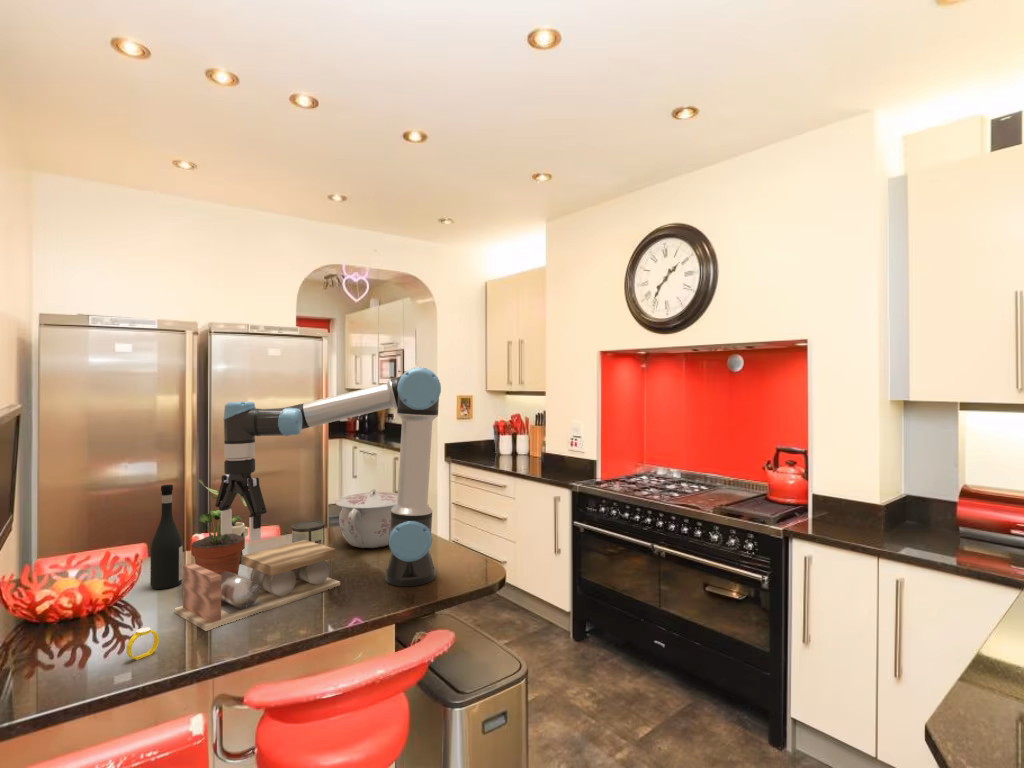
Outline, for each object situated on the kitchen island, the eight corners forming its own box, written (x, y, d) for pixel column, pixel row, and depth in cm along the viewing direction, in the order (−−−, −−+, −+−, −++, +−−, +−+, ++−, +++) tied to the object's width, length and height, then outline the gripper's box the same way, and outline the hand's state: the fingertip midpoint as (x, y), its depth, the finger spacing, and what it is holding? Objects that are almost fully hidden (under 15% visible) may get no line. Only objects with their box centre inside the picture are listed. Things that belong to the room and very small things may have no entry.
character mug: (224, 569, 176) (224, 529, 176) (210, 566, 179) (211, 527, 179) (254, 560, 185) (254, 522, 185) (241, 557, 189) (241, 520, 189)
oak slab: (335, 557, 161) (335, 548, 161) (271, 575, 145) (271, 566, 145) (304, 547, 171) (304, 540, 171) (241, 564, 155) (241, 555, 155)
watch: (153, 651, 122) (155, 623, 122) (159, 654, 120) (162, 626, 121) (123, 660, 116) (125, 632, 117) (130, 664, 115) (132, 635, 115)
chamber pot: (389, 530, 225) (389, 480, 225) (422, 545, 204) (422, 489, 204) (322, 542, 207) (322, 488, 207) (351, 560, 186) (351, 499, 186)
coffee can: (300, 561, 184) (301, 520, 184) (330, 562, 183) (330, 520, 183) (285, 571, 174) (285, 527, 174) (316, 572, 173) (316, 528, 173)
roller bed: (340, 585, 161) (340, 544, 161) (205, 631, 131) (206, 580, 131) (305, 573, 172) (306, 535, 172) (174, 612, 142) (174, 566, 142)
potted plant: (218, 597, 152) (218, 473, 152) (179, 591, 157) (179, 470, 158) (261, 579, 167) (262, 465, 167) (224, 573, 172) (224, 463, 172)
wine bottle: (175, 578, 167) (175, 481, 168) (187, 584, 163) (187, 484, 163) (145, 586, 161) (146, 485, 161) (157, 592, 156) (157, 488, 156)
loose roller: (258, 604, 144) (259, 577, 144) (231, 612, 139) (233, 584, 139) (236, 594, 151) (237, 569, 152) (210, 601, 146) (211, 574, 146)
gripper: (280, 459, 143) (280, 540, 143) (227, 454, 156) (228, 527, 156) (253, 463, 137) (254, 547, 136) (201, 457, 150) (201, 533, 150)
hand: (240, 537), depth 146 cm, fingers open, 13 cm apart
